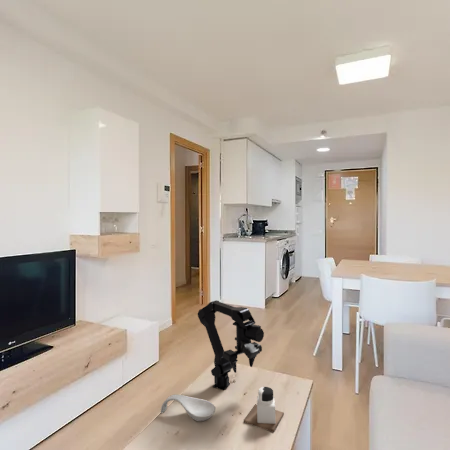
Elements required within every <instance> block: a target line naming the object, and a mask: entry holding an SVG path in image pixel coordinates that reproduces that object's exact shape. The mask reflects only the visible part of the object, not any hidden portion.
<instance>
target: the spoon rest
mask: <svg viewBox="0 0 450 450" xmlns="http://www.w3.org/2000/svg"><path fill="white" fill-rule="evenodd" d="M170 401H176V402H178V403H179V404H180V405H181V406H182V408H183V409H184V410H185V412H186V413H187V415H188V416H189V417H190V418H191V419H192V420H195V421H197V422H203V421H207V420H209V419H210V418H212V416H213V415H214V414H215V412H216V406H215V404H214V403H212V402H211V401H209V400H206V399H202V398H197V397H191V396H187V395H183V394H172V395H170V396H168V397H167V398H166V399H165V400H164V401H163V403H162V404H161V407H160V414H163V413H164V412H166V410H167V407H168V403H169V402H170Z"/></svg>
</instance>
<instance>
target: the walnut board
mask: <svg viewBox="0 0 450 450" xmlns="http://www.w3.org/2000/svg"><path fill="white" fill-rule="evenodd" d="M284 415H285V413H284V411H280V410H277V409H275V424H267V423H258V422H257V403H256V404H254V405H253V406H252V408H251V409H250V410H249V412H248V413H247V415H246V416H245V417H244V419H243V423H245V424H248V425H251V426H254V427H257V428H260V429H264V430H266V431H268V432H269V431H270V432H272V433H275V431H276V430H277V428H278V426H279V424H280V422H281V421H282V419H283V418H284Z"/></svg>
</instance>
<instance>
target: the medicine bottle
mask: <svg viewBox="0 0 450 450" xmlns="http://www.w3.org/2000/svg"><path fill="white" fill-rule="evenodd" d="M257 391H258V392H257V393H258V396H256V399H257V400H256V405H257V422H258V423H267V424H275V410H276V402H275V396H274V390H273V388H271V387H268V386H261V387H259V389H258V390H257Z"/></svg>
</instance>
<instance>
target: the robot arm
mask: <svg viewBox="0 0 450 450" xmlns="http://www.w3.org/2000/svg"><path fill="white" fill-rule="evenodd" d="M197 312H198V313H197V317H198V320H199V322H200V323H201V325H202V326H204V328H205V330H206V333H207V335H208V339H209V342H210V344H211V347H212V351H213V353H214V360H213V364H214V367H213V368H212V369H211V370H210V372H211V376H213V377H214V379H213V380H214V384H213V385H212V388H215V389H218V390H222V391H225V390H226V389H227V388H228V387H229V386H230V385H231V383H230V376H229V373H230V372H232V371H233V373H235V374H236V373H237V363H238V361H239V360H238V356H241V355H243V354H244V355H245V356H246V357H247V359H248V363H249V366H250V367H251V368H253V365H254V362H255V359H256V357H257V356H258V355H259V354H260V353H261V352H262V351H263V347H262V345H261V344H260V343H261V342H262V341H263V339H264V336H265V332H264V329H262V326H261V325H257V324H256V321H255V319H254V317H253V315H252V313H251V312H250V309H249V308H248V307H243V306H238V307H236V306H234V305H229V304H227V303H224V302H221V301H219V300H212V301H210V302H209V303H208V304H206V305H204V307H202V308H201V309H199V310H198V311H197ZM217 312H218V313H221V314H223V315H225V316H228V317H230V318H231V320H232V321H234V322H232V325H233V326H235V327H236V328H235V332H236V334H235V335H236V336H235V337H234V340H235V341H236V345H235V346H234V349H235V351H234V350H232V349H228V350H225V349H224V347H223V344H222V340H221V338H220V336H219V335H220V334H219V332H218V329H217V327H216V313H217ZM252 341H253V342H252Z"/></svg>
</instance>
